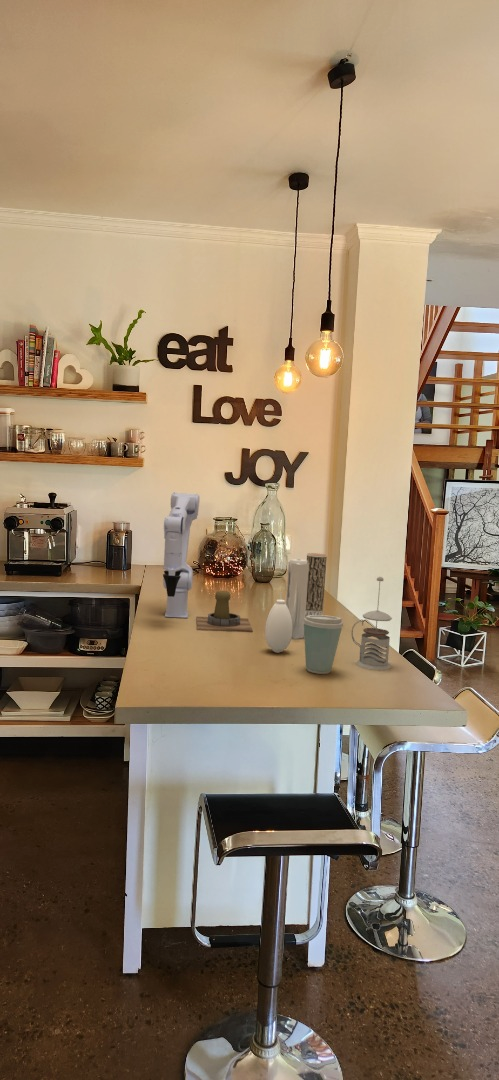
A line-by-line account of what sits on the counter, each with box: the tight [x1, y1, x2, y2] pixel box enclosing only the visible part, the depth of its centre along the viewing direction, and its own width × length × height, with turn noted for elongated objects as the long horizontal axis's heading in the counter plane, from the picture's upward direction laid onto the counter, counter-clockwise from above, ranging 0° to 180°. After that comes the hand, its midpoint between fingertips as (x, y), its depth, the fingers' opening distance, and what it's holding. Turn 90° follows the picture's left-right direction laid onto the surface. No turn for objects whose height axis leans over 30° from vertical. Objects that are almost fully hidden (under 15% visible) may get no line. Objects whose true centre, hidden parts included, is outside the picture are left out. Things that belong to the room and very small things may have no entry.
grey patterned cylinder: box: [305, 552, 328, 617], centre depth 237 cm, size 7×7×25 cm
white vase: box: [264, 591, 292, 654], centre depth 199 cm, size 8×8×18 cm
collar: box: [207, 612, 241, 627], centre depth 231 cm, size 11×11×2 cm
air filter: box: [285, 558, 309, 640], centre depth 219 cm, size 6×6×25 cm
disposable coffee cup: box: [303, 614, 344, 675], centre depth 182 cm, size 11×11×15 cm
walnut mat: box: [196, 615, 253, 633], centre depth 231 cm, size 18×18×1 cm
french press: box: [351, 576, 393, 671], centre depth 191 cm, size 10×12×25 cm
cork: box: [213, 590, 231, 619], centre depth 230 cm, size 6×6×11 cm
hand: (171, 594), depth 224 cm, fingers open, 7 cm apart
